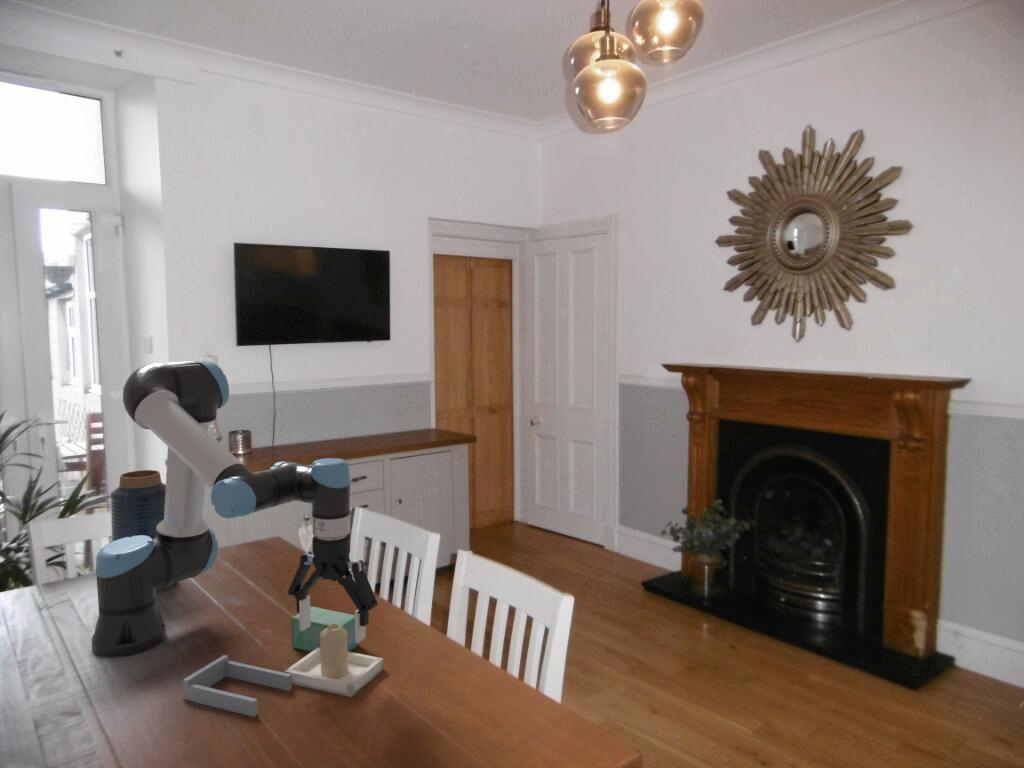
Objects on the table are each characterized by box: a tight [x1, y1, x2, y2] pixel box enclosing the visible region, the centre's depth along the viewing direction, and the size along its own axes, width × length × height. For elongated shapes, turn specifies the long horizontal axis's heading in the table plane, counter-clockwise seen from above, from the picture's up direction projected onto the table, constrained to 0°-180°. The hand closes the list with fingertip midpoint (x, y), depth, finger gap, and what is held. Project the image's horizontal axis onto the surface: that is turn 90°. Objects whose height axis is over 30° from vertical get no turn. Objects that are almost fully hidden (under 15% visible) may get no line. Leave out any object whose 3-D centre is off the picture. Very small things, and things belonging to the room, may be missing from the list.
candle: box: [320, 624, 348, 679], centre depth 150 cm, size 6×6×10 cm
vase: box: [110, 469, 175, 594], centre depth 198 cm, size 16×16×32 cm
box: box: [291, 605, 360, 653], centre depth 163 cm, size 7×14×8 cm, turn 68°
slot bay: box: [182, 654, 293, 718], centre depth 143 cm, size 17×11×4 cm, turn 69°
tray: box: [283, 646, 384, 698], centre depth 150 cm, size 16×12×2 cm
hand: (332, 634), depth 150 cm, fingers open, 13 cm apart
